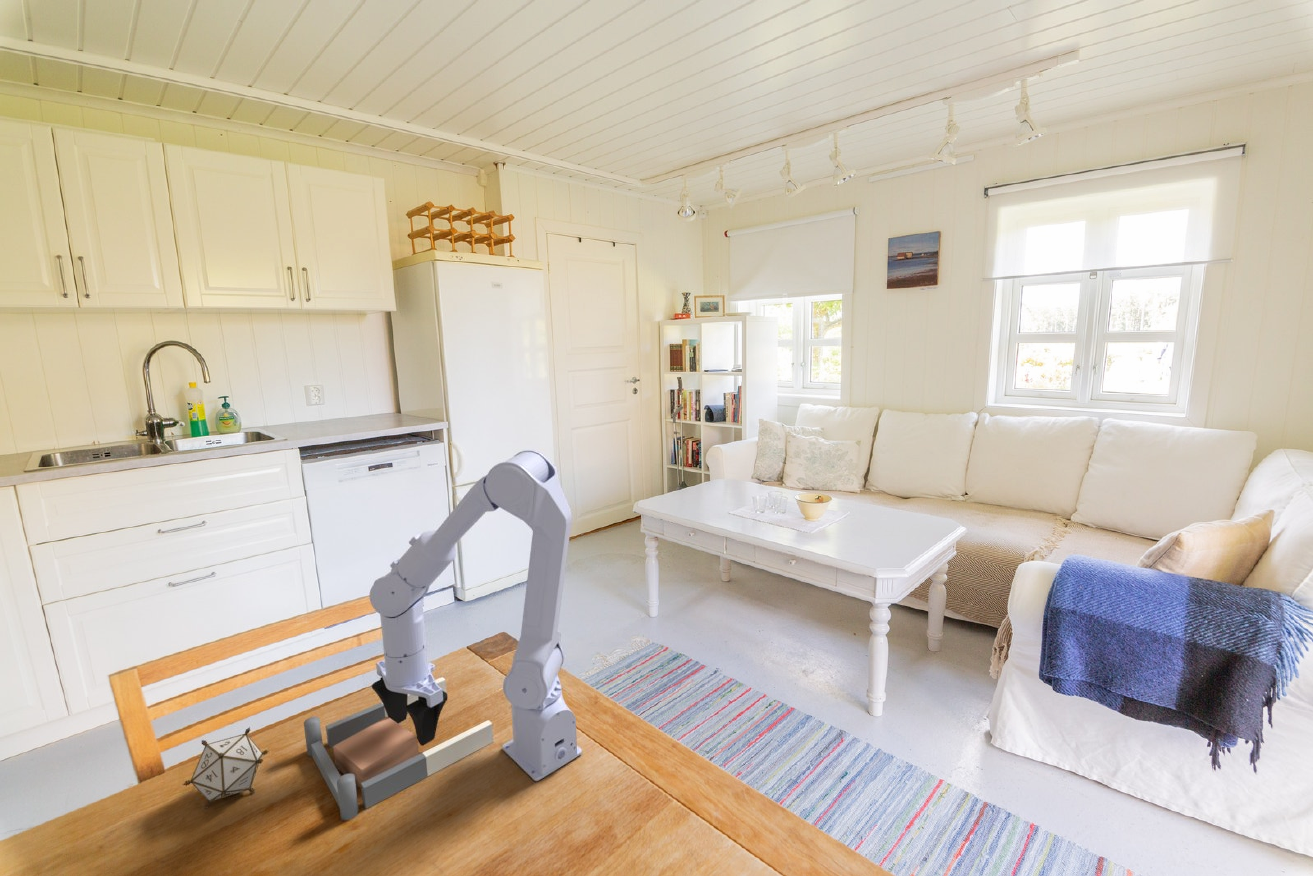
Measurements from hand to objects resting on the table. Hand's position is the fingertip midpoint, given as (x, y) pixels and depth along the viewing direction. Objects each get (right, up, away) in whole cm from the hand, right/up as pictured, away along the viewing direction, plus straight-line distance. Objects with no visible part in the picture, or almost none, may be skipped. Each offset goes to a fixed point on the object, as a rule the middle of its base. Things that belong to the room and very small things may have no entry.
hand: (412, 731), depth 87 cm
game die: (-20, -4, -9) cm, 23 cm away
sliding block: (-3, -3, -4) cm, 6 cm away
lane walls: (+3, -1, +3) cm, 4 cm away
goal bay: (-5, -2, -5) cm, 7 cm away
